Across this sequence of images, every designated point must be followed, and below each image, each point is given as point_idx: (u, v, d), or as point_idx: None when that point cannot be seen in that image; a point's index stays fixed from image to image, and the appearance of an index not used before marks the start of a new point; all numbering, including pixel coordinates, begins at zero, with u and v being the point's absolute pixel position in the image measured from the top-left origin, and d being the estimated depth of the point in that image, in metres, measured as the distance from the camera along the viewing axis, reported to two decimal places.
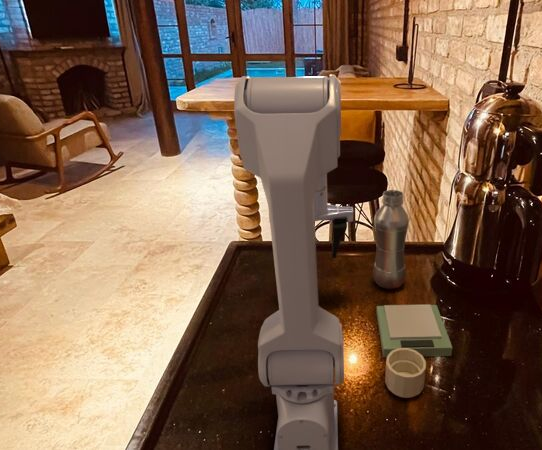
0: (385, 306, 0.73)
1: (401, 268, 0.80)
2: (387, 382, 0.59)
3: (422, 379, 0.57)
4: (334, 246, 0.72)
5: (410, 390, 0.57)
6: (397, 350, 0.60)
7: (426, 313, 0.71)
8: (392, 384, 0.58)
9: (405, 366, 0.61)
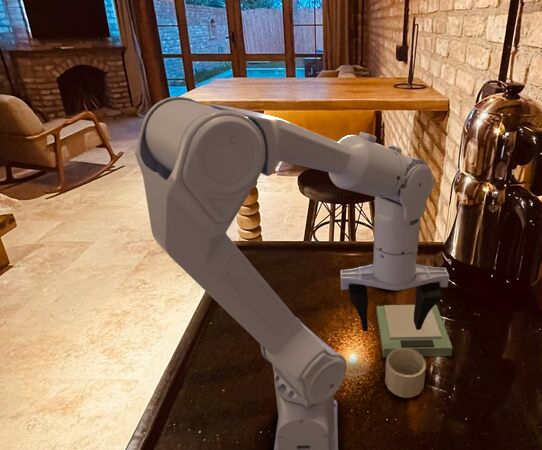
0: (385, 306, 0.73)
1: None
2: (387, 382, 0.59)
3: (422, 379, 0.57)
4: (421, 317, 0.57)
5: (410, 390, 0.57)
6: (397, 350, 0.60)
7: None
8: (392, 384, 0.58)
9: (405, 366, 0.61)
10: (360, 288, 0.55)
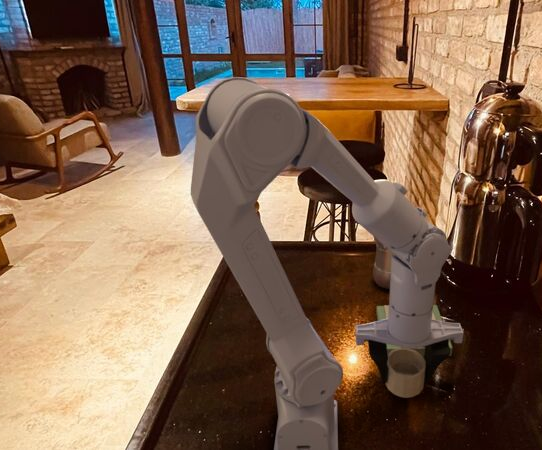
0: (385, 306, 0.73)
1: None
2: (387, 382, 0.59)
3: (422, 379, 0.57)
4: (430, 371, 0.57)
5: (410, 390, 0.57)
6: (397, 350, 0.60)
7: None
8: (392, 384, 0.58)
9: (405, 366, 0.61)
10: (380, 343, 0.56)
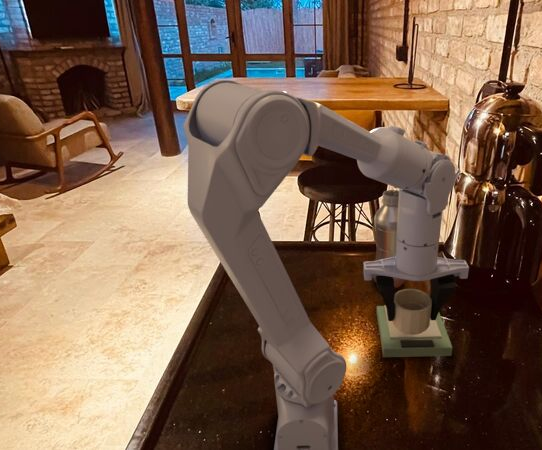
0: (385, 306, 0.73)
1: None
2: (394, 320, 0.60)
3: (428, 316, 0.59)
4: (436, 307, 0.59)
5: (416, 326, 0.58)
6: (403, 290, 0.62)
7: None
8: (399, 321, 0.59)
9: (411, 307, 0.63)
10: (387, 279, 0.57)
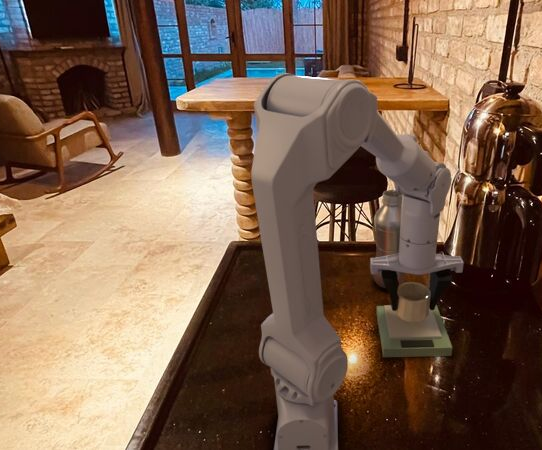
0: (385, 306, 0.73)
1: None
2: (397, 310, 0.68)
3: (427, 305, 0.66)
4: (435, 298, 0.66)
5: (417, 315, 0.66)
6: (405, 283, 0.69)
7: None
8: (401, 310, 0.67)
9: (412, 298, 0.70)
10: (392, 273, 0.65)
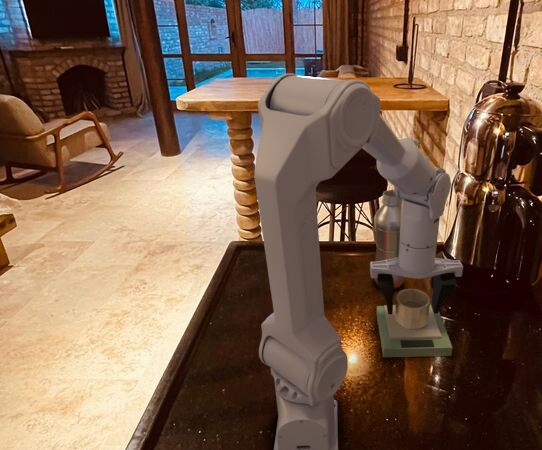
0: (385, 306, 0.73)
1: None
2: (397, 316, 0.68)
3: (427, 312, 0.67)
4: (438, 302, 0.66)
5: (417, 321, 0.67)
6: (405, 290, 0.70)
7: None
8: (401, 317, 0.67)
9: (412, 305, 0.71)
10: (387, 277, 0.65)
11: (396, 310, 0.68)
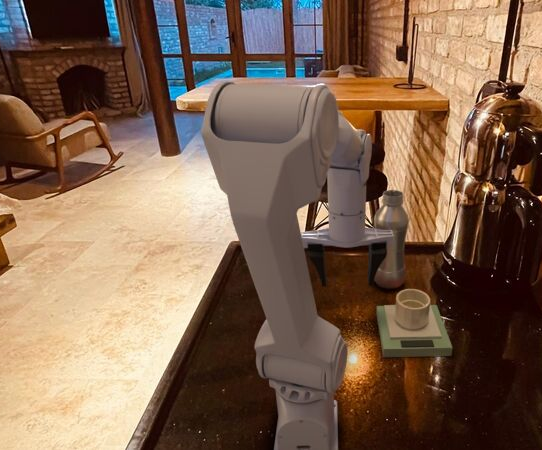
0: (385, 306, 0.73)
1: (401, 268, 0.80)
2: (397, 316, 0.68)
3: (427, 312, 0.67)
4: (371, 273, 0.65)
5: (417, 321, 0.67)
6: (405, 290, 0.70)
7: None
8: (401, 317, 0.67)
9: (412, 305, 0.71)
10: (318, 247, 0.64)
11: (396, 310, 0.68)
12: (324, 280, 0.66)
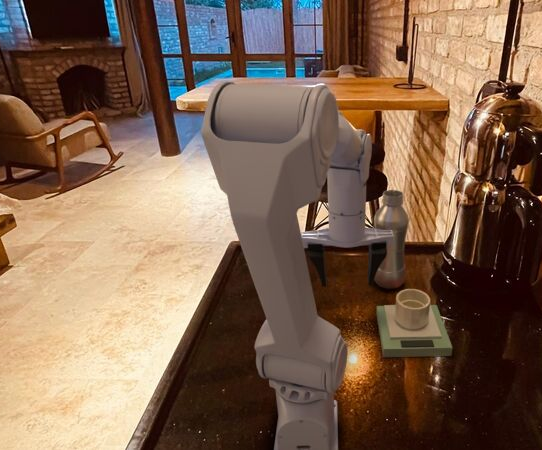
0: (385, 306, 0.73)
1: (401, 268, 0.80)
2: (397, 316, 0.68)
3: (427, 312, 0.67)
4: (371, 273, 0.65)
5: (417, 321, 0.67)
6: (405, 290, 0.70)
7: None
8: (401, 317, 0.67)
9: (412, 305, 0.71)
10: (318, 247, 0.64)
11: (396, 310, 0.68)
12: (324, 280, 0.66)
